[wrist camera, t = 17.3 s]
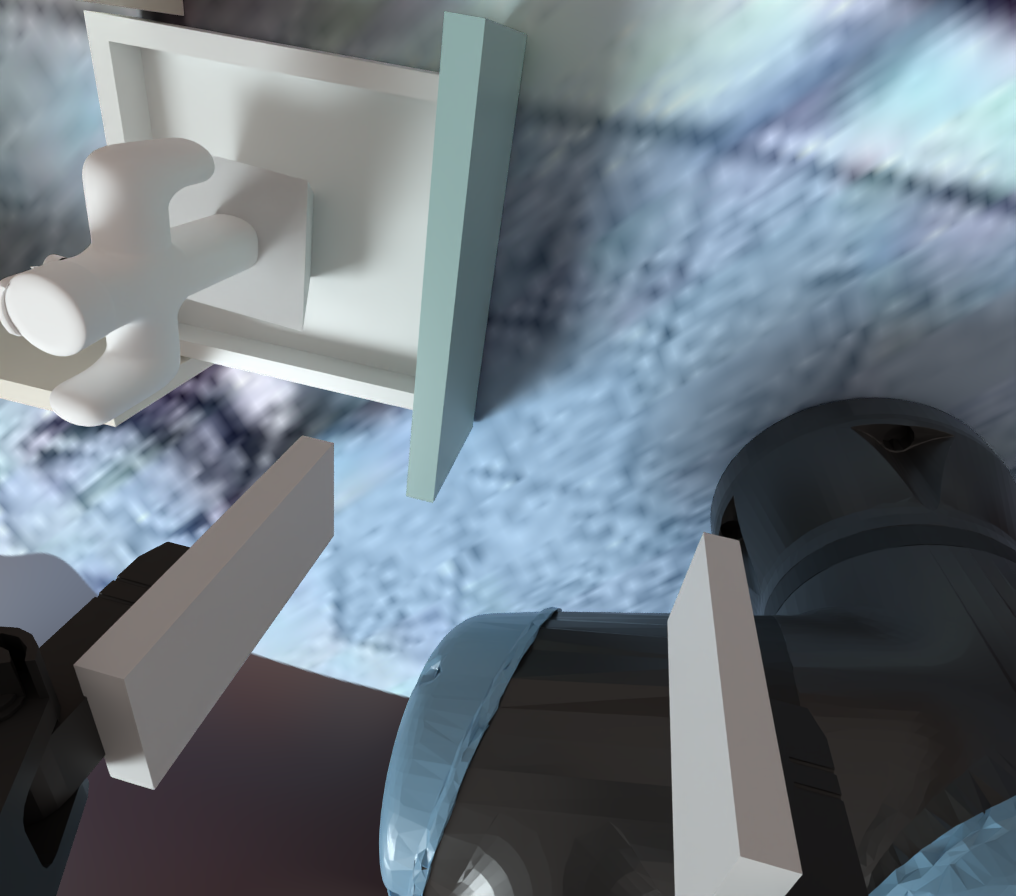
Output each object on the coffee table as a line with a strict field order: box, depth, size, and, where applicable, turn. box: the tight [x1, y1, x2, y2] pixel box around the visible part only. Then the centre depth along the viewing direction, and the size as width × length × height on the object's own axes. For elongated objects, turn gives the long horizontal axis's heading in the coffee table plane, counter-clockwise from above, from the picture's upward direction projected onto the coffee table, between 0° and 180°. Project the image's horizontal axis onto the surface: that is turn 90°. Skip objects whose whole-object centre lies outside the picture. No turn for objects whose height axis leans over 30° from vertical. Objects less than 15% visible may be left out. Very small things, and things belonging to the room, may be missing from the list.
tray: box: [84, 10, 527, 503], centre depth 30 cm, size 19×20×8 cm
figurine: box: [0, 137, 314, 426], centre depth 26 cm, size 7×9×15 cm
